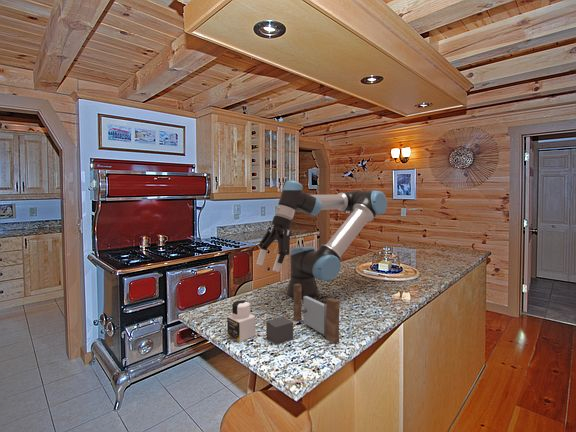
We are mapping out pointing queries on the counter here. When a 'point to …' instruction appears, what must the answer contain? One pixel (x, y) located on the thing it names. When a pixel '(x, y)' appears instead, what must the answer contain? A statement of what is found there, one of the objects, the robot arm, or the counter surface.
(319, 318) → the door
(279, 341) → the dark grey block
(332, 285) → the counter surface
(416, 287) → the counter surface
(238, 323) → the medicine bottle
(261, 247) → the robot arm
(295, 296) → the doorframe
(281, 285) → the counter surface
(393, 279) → the counter surface
